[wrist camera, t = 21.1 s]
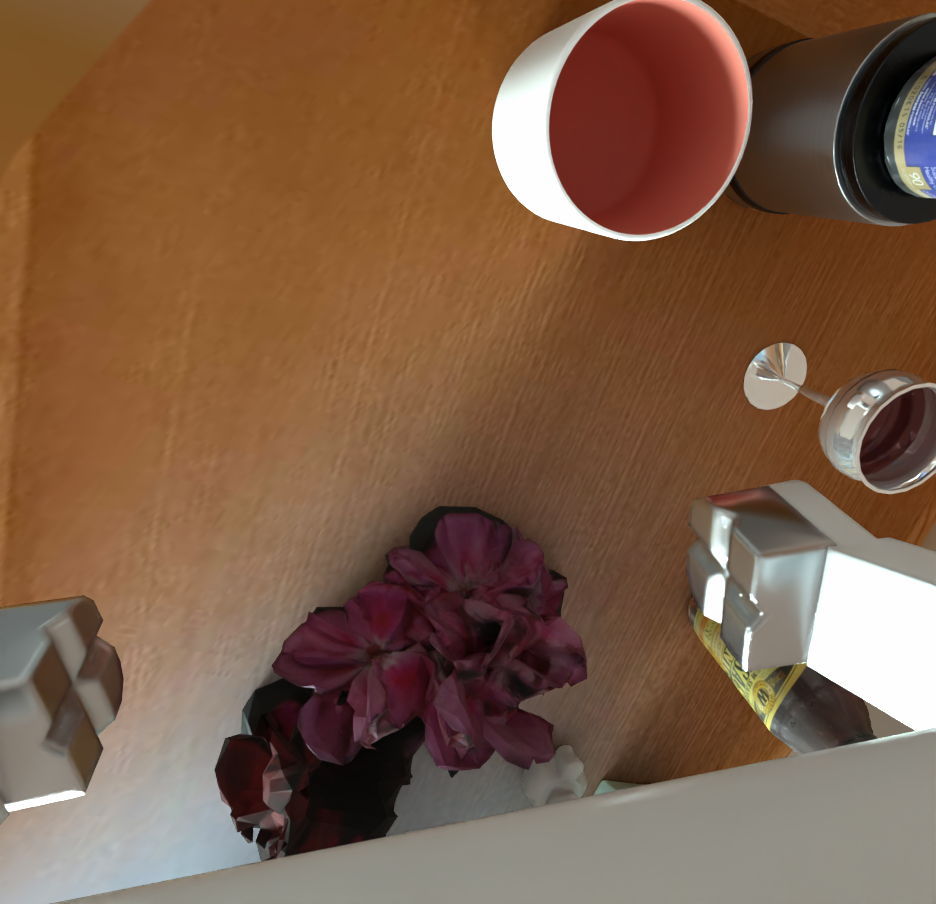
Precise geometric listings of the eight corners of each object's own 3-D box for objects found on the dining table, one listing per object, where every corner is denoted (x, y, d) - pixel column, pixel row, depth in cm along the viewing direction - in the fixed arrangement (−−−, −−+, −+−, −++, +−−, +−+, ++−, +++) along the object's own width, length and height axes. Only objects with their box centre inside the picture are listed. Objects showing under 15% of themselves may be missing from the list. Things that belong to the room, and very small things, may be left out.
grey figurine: (504, 782, 59) (532, 869, 52) (536, 724, 57) (569, 806, 50) (557, 789, 61) (591, 874, 54) (590, 733, 59) (629, 814, 52)
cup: (572, -18, 36) (660, -75, 27) (685, 123, 40) (794, 114, 31) (450, 137, 38) (495, 132, 29) (570, 257, 42) (642, 285, 33)
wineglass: (745, 328, 46) (877, 380, 36) (829, 331, 48) (981, 382, 37) (722, 421, 49) (839, 496, 38) (803, 421, 51) (937, 494, 40)
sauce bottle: (697, 565, 54) (889, 769, 36) (763, 570, 56) (978, 767, 38) (671, 633, 56) (840, 856, 38) (735, 635, 58) (926, 850, 40)
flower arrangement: (407, 829, 59) (438, 1030, 45) (177, 783, 51) (132, 1005, 38) (602, 538, 51) (708, 676, 37) (363, 434, 44) (389, 560, 30)
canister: (710, 49, 39) (865, 9, 28) (853, 39, 40) (1052, -2, 30) (700, 218, 43) (833, 240, 32) (830, 203, 44) (999, 220, 33)
